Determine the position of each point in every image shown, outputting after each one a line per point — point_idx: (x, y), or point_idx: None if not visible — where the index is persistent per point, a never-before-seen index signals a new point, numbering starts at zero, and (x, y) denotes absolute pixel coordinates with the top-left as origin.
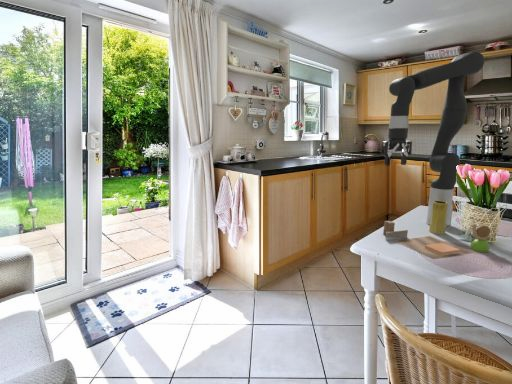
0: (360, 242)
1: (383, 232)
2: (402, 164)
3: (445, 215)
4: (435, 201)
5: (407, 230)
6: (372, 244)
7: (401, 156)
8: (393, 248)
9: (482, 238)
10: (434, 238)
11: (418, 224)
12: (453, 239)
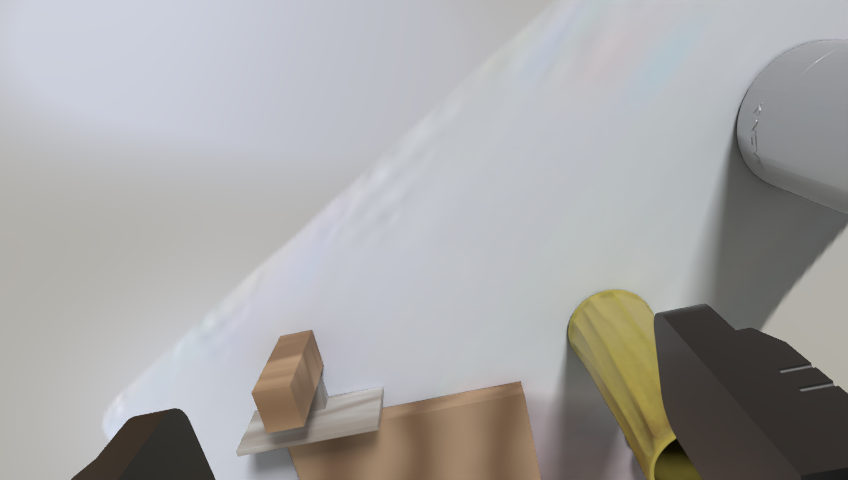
0: (133, 387)
1: (272, 352)
2: (662, 364)
3: (673, 441)
4: None
5: (377, 428)
6: None
7: (794, 474)
8: (268, 465)
9: None
10: (521, 425)
11: (668, 106)
12: None
